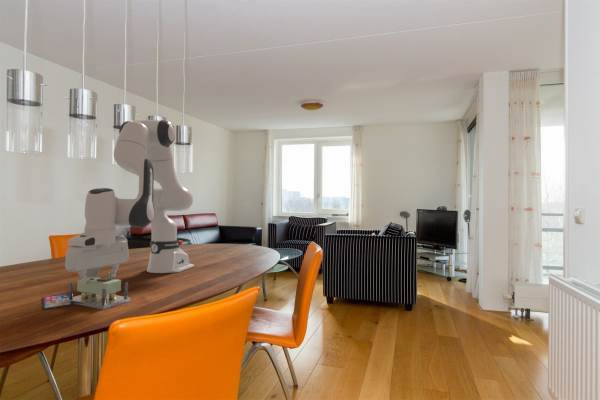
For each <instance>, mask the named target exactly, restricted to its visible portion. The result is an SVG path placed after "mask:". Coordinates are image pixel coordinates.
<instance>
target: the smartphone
mask: <svg viewBox="0 0 600 400" xmlns="http://www.w3.org/2000/svg"><path fill="white" fill-rule="evenodd" d="M68 298H69V293H61V294H55V295H54V294H53V295H47V296H43V297H42V299H41V300H42V310H43V311H48V310H56V309H63V308H64V309H65V308H70V307H73V305H74V304H72V302H71V301H66V299H68Z"/></svg>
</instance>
